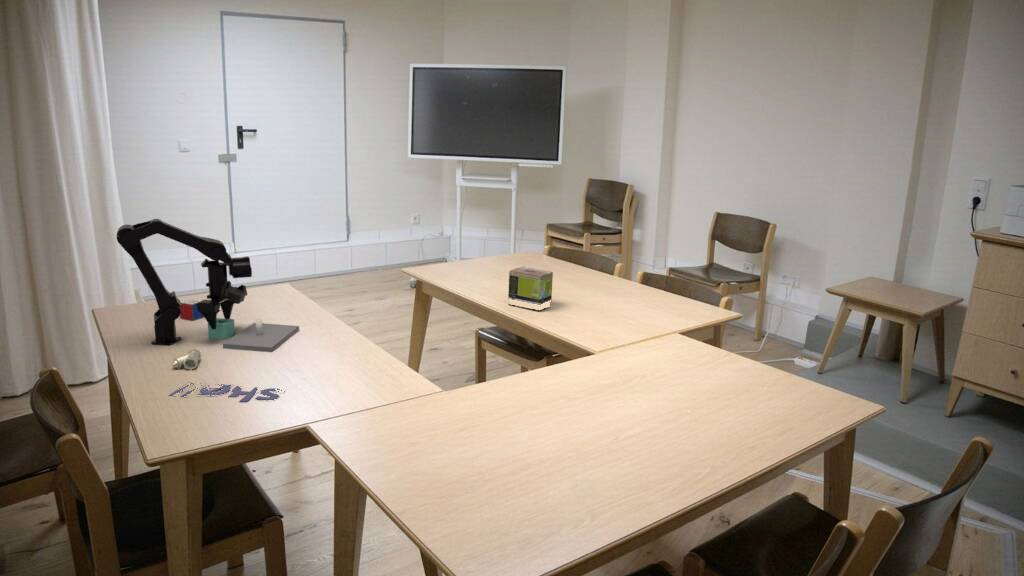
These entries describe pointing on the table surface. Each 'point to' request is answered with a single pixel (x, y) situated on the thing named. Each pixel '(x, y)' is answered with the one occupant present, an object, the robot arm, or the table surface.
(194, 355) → the pipe fitting
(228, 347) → the peg board
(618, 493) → the table surface
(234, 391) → the signage
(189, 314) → the puzzle
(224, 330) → the bead
